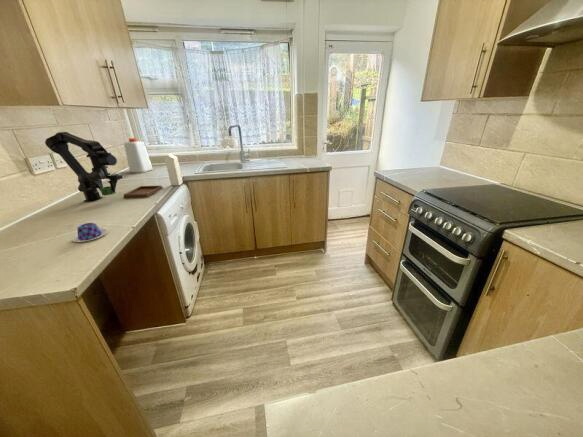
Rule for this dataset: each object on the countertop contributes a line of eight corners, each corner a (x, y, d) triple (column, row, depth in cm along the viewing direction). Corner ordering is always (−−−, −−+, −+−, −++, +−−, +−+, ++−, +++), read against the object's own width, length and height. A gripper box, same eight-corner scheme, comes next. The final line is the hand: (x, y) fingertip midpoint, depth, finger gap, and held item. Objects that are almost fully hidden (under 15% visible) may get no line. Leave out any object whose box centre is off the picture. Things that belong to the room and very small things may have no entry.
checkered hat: (67, 246, 95) (62, 234, 93) (78, 233, 105) (73, 222, 103) (104, 239, 99) (99, 228, 97) (110, 228, 110) (106, 217, 107)
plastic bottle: (155, 169, 224) (146, 137, 213) (142, 173, 211) (133, 139, 199) (141, 168, 227) (132, 137, 216) (128, 172, 214) (117, 139, 203)
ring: (99, 195, 140) (97, 189, 139) (107, 192, 146) (105, 186, 144) (110, 195, 140) (108, 189, 138) (117, 191, 146) (116, 186, 144)
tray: (124, 197, 149) (123, 194, 148) (141, 189, 166) (140, 186, 165) (147, 197, 149) (146, 194, 148) (162, 188, 166) (161, 185, 165)
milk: (171, 185, 172) (163, 153, 163) (174, 183, 177) (167, 152, 168) (179, 185, 172) (172, 153, 163) (183, 183, 177) (176, 152, 168)
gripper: (70, 168, 129) (81, 196, 135) (105, 167, 129) (114, 195, 135) (86, 164, 139) (96, 190, 145) (119, 163, 139) (127, 189, 145)
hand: (108, 191), depth 142 cm, fingers closed on ring, 6 cm apart
